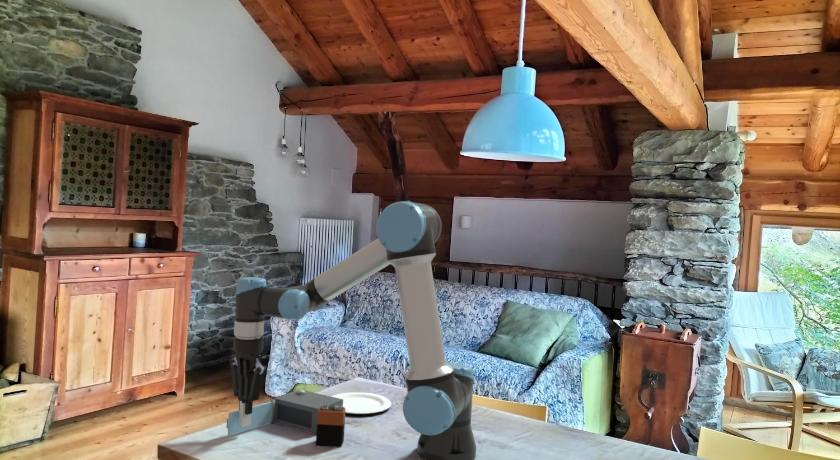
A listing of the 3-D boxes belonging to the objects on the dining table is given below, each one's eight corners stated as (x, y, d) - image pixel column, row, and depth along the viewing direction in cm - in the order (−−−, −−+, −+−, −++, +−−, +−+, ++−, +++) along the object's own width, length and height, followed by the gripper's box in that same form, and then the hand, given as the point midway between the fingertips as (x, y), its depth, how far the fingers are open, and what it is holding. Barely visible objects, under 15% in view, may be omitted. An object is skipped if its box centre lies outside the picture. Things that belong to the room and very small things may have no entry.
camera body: (348, 425, 169) (349, 397, 169) (324, 436, 160) (326, 407, 160) (297, 412, 178) (299, 386, 178) (272, 422, 168) (274, 395, 168)
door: (229, 437, 155) (231, 412, 155) (225, 435, 156) (227, 411, 156) (274, 422, 167) (276, 400, 167) (270, 421, 168) (272, 399, 168)
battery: (341, 447, 153) (343, 408, 153) (315, 446, 153) (317, 407, 153) (344, 441, 157) (345, 403, 157) (318, 439, 157) (320, 402, 157)
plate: (320, 398, 194) (320, 393, 194) (382, 395, 200) (382, 390, 200) (330, 420, 174) (330, 414, 174) (398, 416, 180) (399, 410, 180)
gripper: (276, 338, 155) (272, 428, 156) (245, 330, 163) (241, 416, 164) (252, 342, 149) (248, 435, 150) (221, 334, 157) (217, 422, 158)
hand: (244, 425), depth 157 cm, fingers closed
